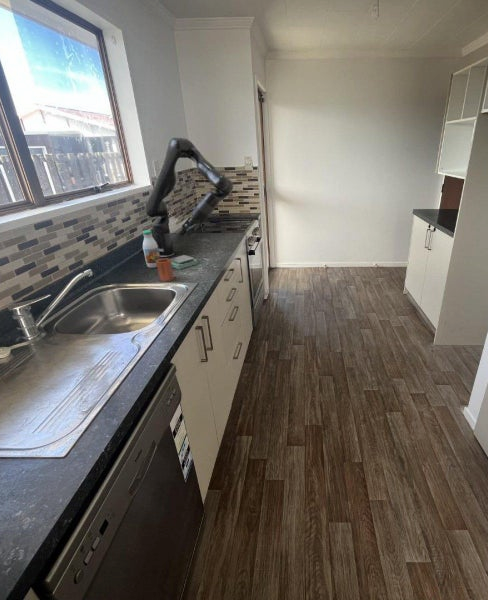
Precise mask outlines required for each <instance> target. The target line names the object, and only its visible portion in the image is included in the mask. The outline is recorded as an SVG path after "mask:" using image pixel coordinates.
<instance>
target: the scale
mask: <svg viewBox="0 0 488 600" xmlns="http://www.w3.org/2000/svg"><path fill="white" fill-rule="evenodd" d="M198 264H199V263H198V259H196V258H194V259H193V260H190V261H186V262H183V263H180V264H179V263H176V262H173V261H171V265H172V268H174V269H176V270H182V269H186V268H189V267H193V266H195V265H198Z"/></svg>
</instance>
